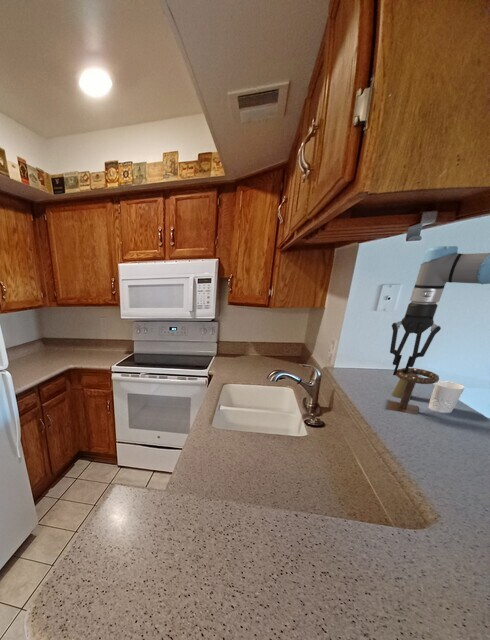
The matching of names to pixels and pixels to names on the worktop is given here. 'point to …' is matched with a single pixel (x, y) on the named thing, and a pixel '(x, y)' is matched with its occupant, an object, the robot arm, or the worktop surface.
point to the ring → (430, 380)
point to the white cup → (445, 396)
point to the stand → (405, 400)
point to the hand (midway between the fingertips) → (399, 374)
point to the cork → (400, 388)
